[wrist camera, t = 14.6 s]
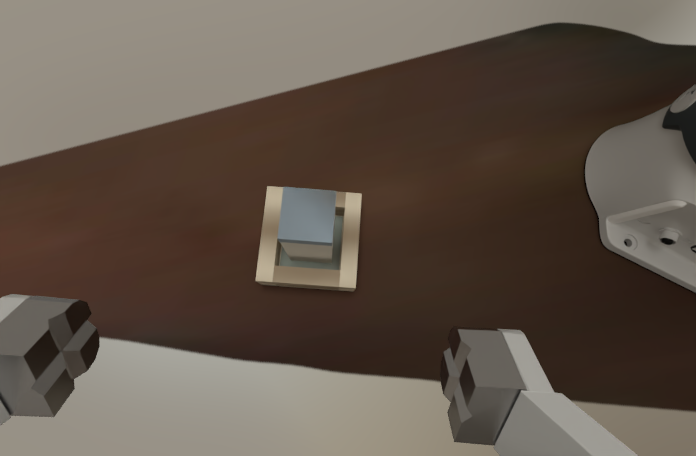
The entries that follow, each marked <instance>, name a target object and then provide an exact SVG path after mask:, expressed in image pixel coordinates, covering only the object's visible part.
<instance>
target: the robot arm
mask: <svg viewBox="0 0 696 456" xmlns="http://www.w3.org/2000/svg"><path fill="white" fill-rule="evenodd" d="M585 180H586V186H587V190H588V193H589V196H590V198H591V201H592V203H593V205H594V207H595V209H596V211H597V214H598V217H599V230H600V237H601V241H602V243H603V245H604V246H605V247H606V248H607V249H609V250H611V251H613V252H615V253H617V254H619V255H621V256H623V257H625V258H627V259H629V260H631V261H633V262H635V263H637V264H639V265H641V266H643V267H645V268H647V269H649V270H651V271H653V272H655V273H657V274H659V275H661V276H663V277H665V278H667V279H669V280H671V281H673V282H675V283H677V284H679V285H681V286H683V287H685V288H687V289H689V290H691V291H693V292H695V293H696V84H695V85H694V86H692V87H691V88H690V89H688V90H687V91H685V92H684V93H683V94H682V95H680V96H679V97H678V98H677V99H676V100H675V101H674V102H673V103H672V104H671V105H669V106H667V107H665V108H663V109H661V110H658V111H656V112H654V113H652V114H650V115H648V116H645V117H643V118H641V119H638V120H635V121H633V122H629V123H626V124H622V125H619V126H616V127H613V128H611V129H609V130H608V131H606V132H605V133H603V134H602V135H601V136H600V137H599V138H598V139H597V140H596V141H595V142H594V144H593V145H592V147H591V149H590V151H589V153H588V156H587V160H586V165H585ZM624 241H625V242H626V243H627V246H626V245H625V244H624ZM90 315H91V311H90V309H89V306H88V304H87V302H84V301H81V300H74V299H63V298H52V297H42V296H26V295H16V294H10V295H7V296H4V297H2V298H0V425H2V424H3V423H5V422H6V421H7V420H9V419H10V418H11V416H39V417H54V416H55V415H56V414H57V412H58V411H59V409H60V408H61V407H62V405H63V404H64V403H65V401H66V399H67V398H68V397H69V396H70V394H71V393H72V391H73V390H74V379H75V378H76V377H78V376H80V375H81V374H83V373H85V372H86V371H87V370H88V369H89V368H90V366H91V365H92V363H93V362H94V360H95V358H96V355H97V352H98V348H99V334H98V331H97V328H96V327H94V326H93V325H92V324H91V323H90V322H88V321H87V320H88V318H89V317H90ZM448 341H449V345H450V348H449V349H447V350H446V351H445V352H444V353H443V357H442V361H441V371H440V376H441V385H442V390H443V394H444V395H445V396H446V398H447V399H448V400H449V401H450V402H451V404H450V407H449V410H448V417H449V421H450V426H451V430H452V434H453V438H454V442H461V443H472V444H484V445H494V449H495V450H496V451H497V453H498V454H499V455H500V456H638V455H637V454H636V453H634V452H633V451H632V450H631V449H629V448H628V447H627V446H626V445H625V444H623V443H622V442H621V441H620V440H618V439H617V438H616V437H615V436H613V435H612V434H611V433H610V432H608V431H607V430H606V429H605V428H604V427H602V426H601V425H600V424H599V423H598V422H596V421H595V420H594V419H592V418H591V417H590V416H589V415H588V414H586V413H585V412H584V411H583V410H582V409H580V408H579V407H578V406H577V405H575V404H574V403H573V402H572V401H570V400H569V399H568V398H567V397H566V396H564V395H563V394H562V393H554V391H553V389H552V387H551V385H550V383H549V381H548V379H547V377H546V375H545V373H544V371H543V369H542V367H541V365H540V363H539V362H538V360H537V358H536V356H535V354H534V352H533V350H532V348H531V346H530V344H529V342H528V340H527V338H526V336H525V334H524V333H523V332H522V331H520V330H509V329H490V328H474V327H457V326H453V328H452V329H451V330H450V333H449V336H448Z"/></svg>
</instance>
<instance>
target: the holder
mask: <svg viewBox="0 0 696 456" xmlns="http://www.w3.org/2000/svg"><path fill="white" fill-rule="evenodd" d="M282 195H283V187H272V186H267V194H266V202H265V210H264V218H263V225H262V233H261V241H260V249H259V257H258V265H257V273H256V281H257V282H258V283H260V284H262V285H272V286H285V287H299V288H313V289H327V290H340V291H354V290H355V289H356V276H357V260H358V244H359V229H360V213H361V197H362V194H359V193H347V192H336V206H335V226H334V239H333V251H332V264H331V263H318V262H305V261H292V260H290V258H289V256H288V255H287V253H286V251H285V250H284V248H283V246H282V245H281V243H280V242H279V240H278V239H277V238H278V229H279V221H280V212H281V204H282Z"/></svg>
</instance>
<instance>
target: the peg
mask: <svg viewBox="0 0 696 456" xmlns="http://www.w3.org/2000/svg"><path fill="white" fill-rule="evenodd" d="M335 206H336V191H329V190H316V189H304V188H291V187H283V195H282V204H281V212H280V221H279V229H278V238H277V239H278V240H279V242H280V243H281V245H282V246H283V248H284V250H285V251H286V253H287V255H288V256H289V258H290V260H292V261H305V262H318V263H331V264H332V251H333V239H334V226H335Z"/></svg>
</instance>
